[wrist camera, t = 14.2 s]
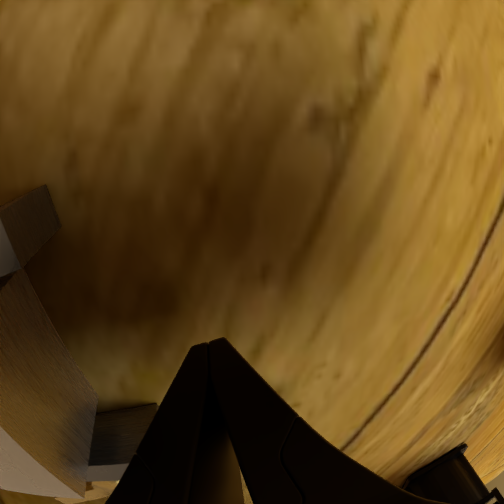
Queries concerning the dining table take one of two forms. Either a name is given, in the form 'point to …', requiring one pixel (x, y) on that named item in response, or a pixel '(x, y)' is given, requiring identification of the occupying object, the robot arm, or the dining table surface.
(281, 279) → the dining table surface
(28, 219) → the frame
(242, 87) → the dining table surface
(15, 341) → the block
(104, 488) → the brass key
